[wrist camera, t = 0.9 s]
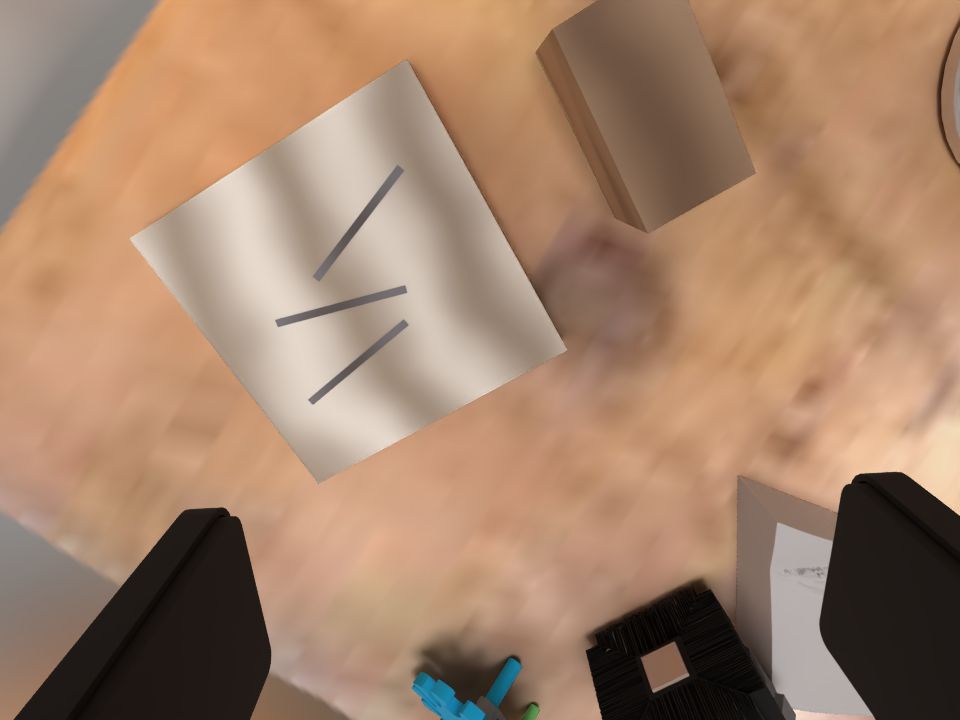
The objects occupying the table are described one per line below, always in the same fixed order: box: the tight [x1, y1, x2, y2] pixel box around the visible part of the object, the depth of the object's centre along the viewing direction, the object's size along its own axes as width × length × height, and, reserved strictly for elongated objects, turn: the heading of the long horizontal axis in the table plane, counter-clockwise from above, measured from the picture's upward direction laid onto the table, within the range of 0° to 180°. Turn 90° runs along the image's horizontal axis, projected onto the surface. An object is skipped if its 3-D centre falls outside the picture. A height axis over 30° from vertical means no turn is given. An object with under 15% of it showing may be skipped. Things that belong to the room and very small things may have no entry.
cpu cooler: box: [586, 585, 796, 720], centre depth 36 cm, size 10×6×10 cm, turn 123°
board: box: [130, 59, 567, 484], centre depth 31 cm, size 16×16×2 cm
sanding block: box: [536, 0, 756, 233], centre depth 27 cm, size 5×9×6 cm, turn 30°
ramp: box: [736, 476, 873, 716], centre depth 38 cm, size 28×16×5 cm, turn 48°
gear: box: [412, 658, 540, 720], centre depth 39 cm, size 11×6×10 cm
